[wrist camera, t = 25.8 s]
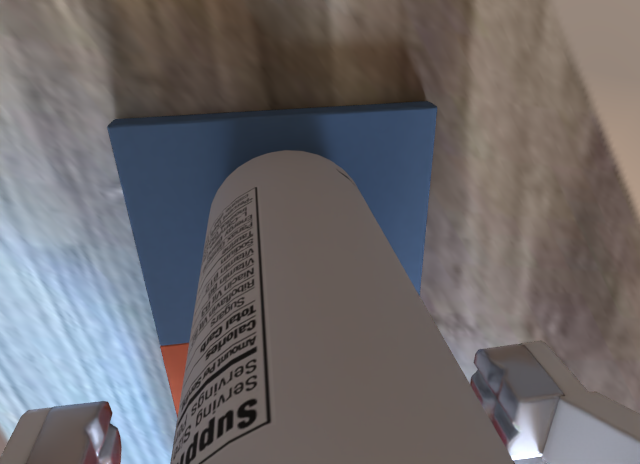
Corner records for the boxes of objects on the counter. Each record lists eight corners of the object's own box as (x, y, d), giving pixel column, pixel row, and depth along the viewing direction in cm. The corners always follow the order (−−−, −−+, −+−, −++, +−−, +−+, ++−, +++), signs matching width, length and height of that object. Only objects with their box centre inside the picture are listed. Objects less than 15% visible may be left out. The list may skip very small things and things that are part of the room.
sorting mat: (195, 469, 26) (193, 486, 25) (113, 118, 17) (106, 125, 16) (400, 440, 28) (405, 455, 27) (428, 100, 18) (438, 106, 17)
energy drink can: (327, 291, 21) (474, 824, 7) (192, 258, 19) (74, 877, 6) (383, 170, 18) (739, 633, 5) (235, 120, 17) (203, 622, 3)
